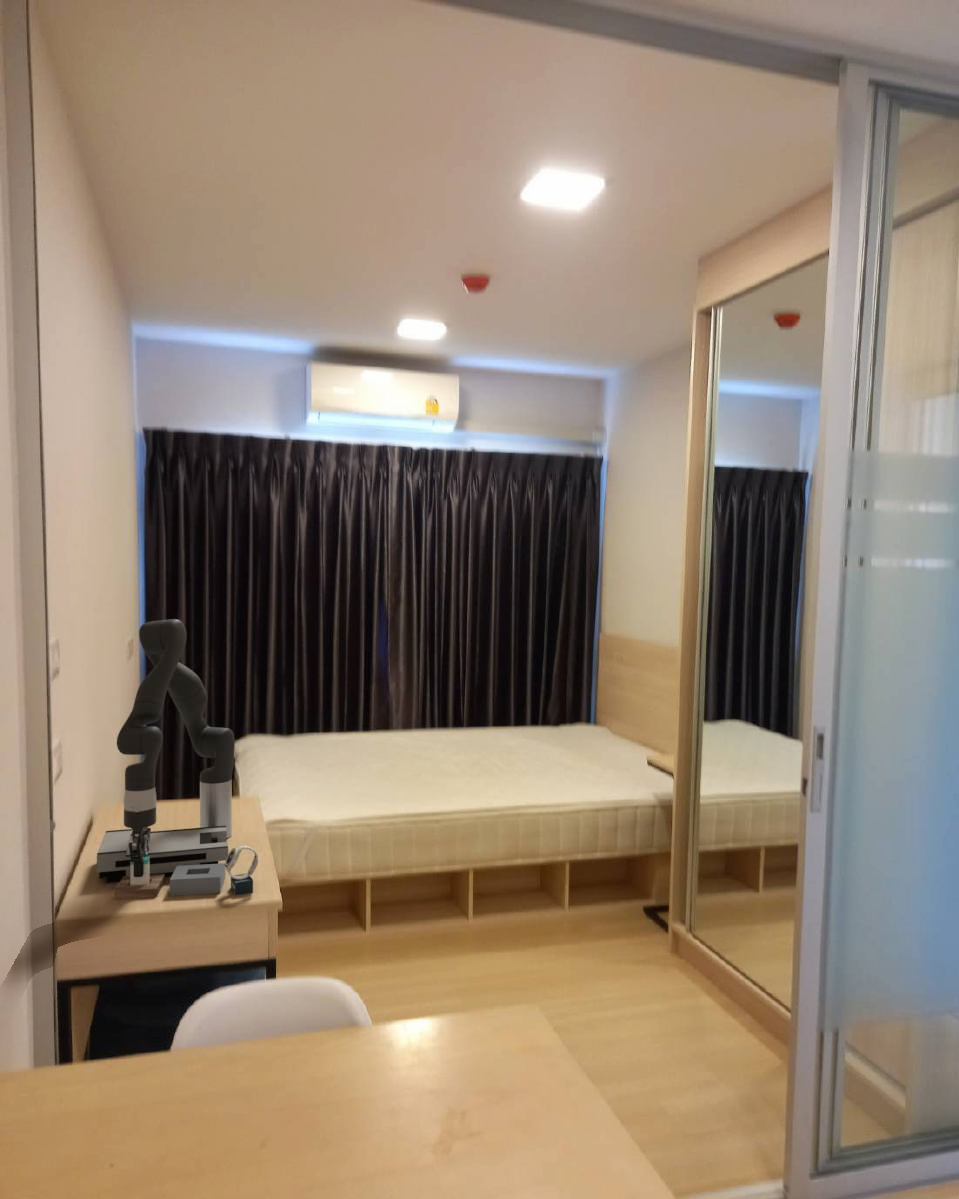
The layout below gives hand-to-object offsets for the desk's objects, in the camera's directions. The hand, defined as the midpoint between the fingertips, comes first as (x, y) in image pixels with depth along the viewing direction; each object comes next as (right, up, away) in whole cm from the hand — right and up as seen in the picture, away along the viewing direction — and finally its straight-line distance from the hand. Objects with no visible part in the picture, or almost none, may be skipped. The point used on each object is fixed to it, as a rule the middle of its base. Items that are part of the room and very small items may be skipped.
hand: (140, 874), depth 205 cm
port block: (+14, -4, +3) cm, 15 cm away
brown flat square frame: (0, -4, 0) cm, 4 cm away
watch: (+25, -5, +1) cm, 26 cm away
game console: (0, -4, +18) cm, 19 cm away
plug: (0, -4, 0) cm, 4 cm away
